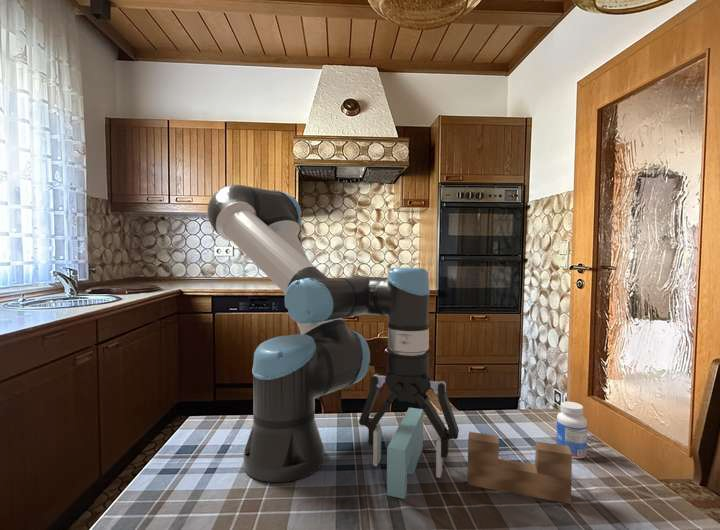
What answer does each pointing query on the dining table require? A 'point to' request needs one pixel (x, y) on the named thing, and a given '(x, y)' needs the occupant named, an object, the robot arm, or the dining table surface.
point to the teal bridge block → (404, 452)
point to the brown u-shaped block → (520, 469)
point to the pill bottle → (572, 429)
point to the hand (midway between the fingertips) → (407, 468)
